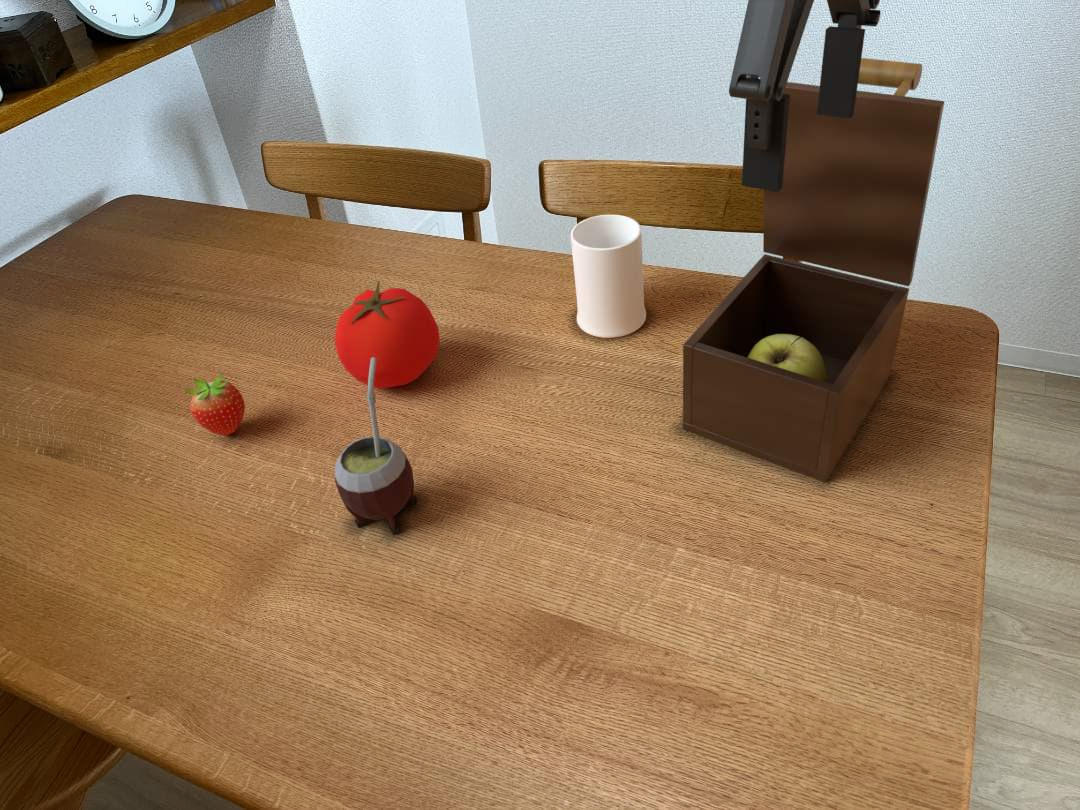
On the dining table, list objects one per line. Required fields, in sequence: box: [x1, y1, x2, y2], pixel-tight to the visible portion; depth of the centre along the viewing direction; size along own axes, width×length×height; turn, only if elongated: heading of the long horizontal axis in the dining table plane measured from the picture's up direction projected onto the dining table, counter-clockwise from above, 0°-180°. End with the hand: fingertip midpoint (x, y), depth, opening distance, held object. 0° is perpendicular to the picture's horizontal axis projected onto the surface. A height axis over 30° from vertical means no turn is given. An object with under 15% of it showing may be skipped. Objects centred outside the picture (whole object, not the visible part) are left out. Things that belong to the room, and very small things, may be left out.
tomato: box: [334, 280, 441, 389], centre depth 92 cm, size 12×12×11 cm
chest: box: [682, 253, 910, 483], centre depth 81 cm, size 18×15×11 cm
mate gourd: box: [334, 358, 418, 536], centre depth 75 cm, size 8×8×15 cm
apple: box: [748, 334, 826, 382], centre depth 79 cm, size 8×8×10 cm
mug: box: [570, 214, 647, 339], centre depth 97 cm, size 12×8×12 cm
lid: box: [762, 57, 945, 287], centre depth 77 cm, size 19×15×10 cm
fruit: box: [182, 373, 246, 436], centre depth 88 cm, size 5×5×8 cm
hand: (800, 148), depth 61 cm, fingers open, 13 cm apart
